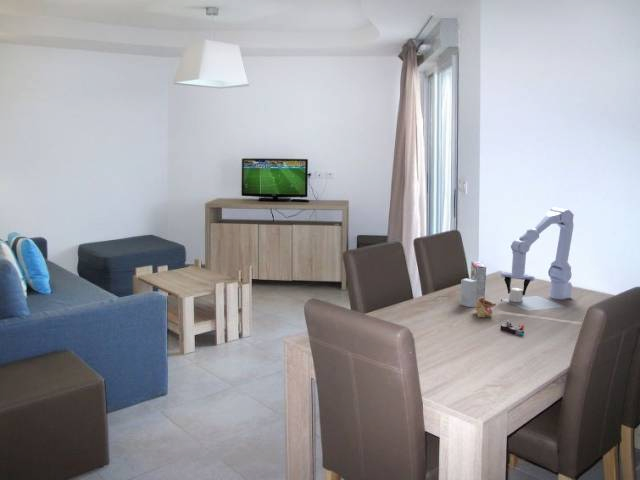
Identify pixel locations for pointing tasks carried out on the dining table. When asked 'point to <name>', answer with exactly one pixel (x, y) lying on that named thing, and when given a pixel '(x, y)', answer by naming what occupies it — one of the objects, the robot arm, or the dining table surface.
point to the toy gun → (512, 329)
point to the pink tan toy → (483, 307)
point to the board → (534, 303)
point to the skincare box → (468, 292)
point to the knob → (516, 294)
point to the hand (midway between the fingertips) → (516, 293)
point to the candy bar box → (479, 277)
